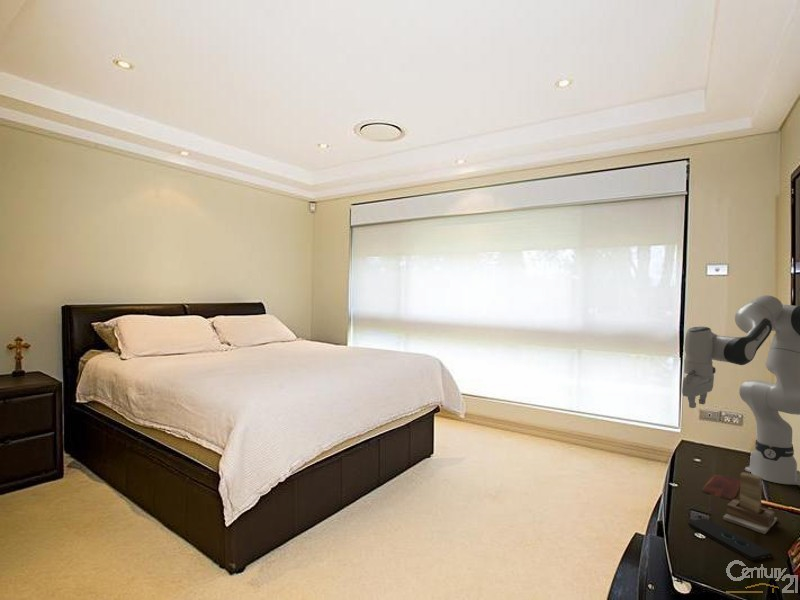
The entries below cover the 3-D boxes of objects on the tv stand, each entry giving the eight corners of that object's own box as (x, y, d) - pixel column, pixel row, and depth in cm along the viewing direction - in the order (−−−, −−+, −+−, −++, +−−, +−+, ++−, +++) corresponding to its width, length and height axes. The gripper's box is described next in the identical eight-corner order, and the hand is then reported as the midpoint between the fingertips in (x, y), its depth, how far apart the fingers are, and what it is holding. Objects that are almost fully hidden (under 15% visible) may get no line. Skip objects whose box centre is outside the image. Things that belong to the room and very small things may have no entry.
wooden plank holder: (736, 507, 154) (737, 496, 154) (776, 520, 145) (777, 508, 145) (723, 519, 146) (723, 507, 146) (764, 534, 137) (765, 521, 137)
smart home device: (752, 556, 123) (686, 521, 142) (752, 563, 123) (686, 526, 142) (772, 552, 125) (705, 517, 144) (772, 558, 125) (705, 522, 144)
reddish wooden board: (733, 502, 159) (733, 498, 159) (701, 493, 166) (701, 489, 166) (744, 481, 178) (744, 477, 178) (714, 473, 185) (714, 469, 185)
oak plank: (742, 512, 148) (743, 471, 148) (760, 518, 144) (761, 477, 144) (739, 515, 147) (740, 474, 146) (758, 521, 143) (759, 479, 142)
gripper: (697, 373, 157) (696, 411, 157) (717, 368, 169) (716, 403, 169) (677, 371, 162) (676, 408, 162) (698, 365, 174) (698, 400, 174)
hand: (697, 405), depth 165 cm, fingers open, 8 cm apart
